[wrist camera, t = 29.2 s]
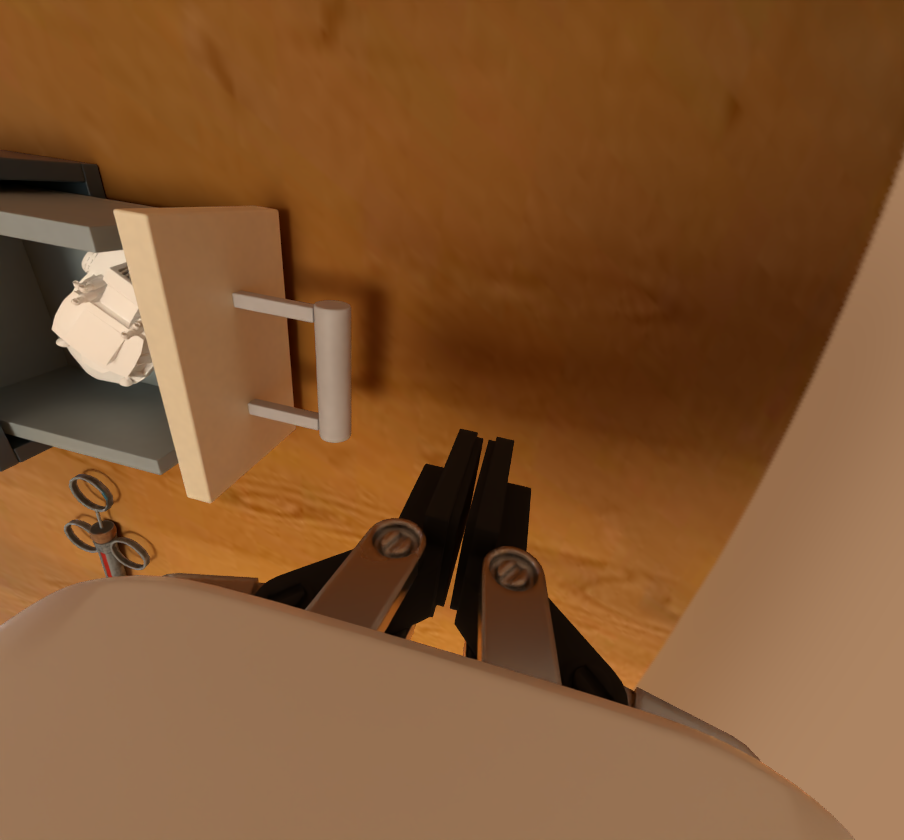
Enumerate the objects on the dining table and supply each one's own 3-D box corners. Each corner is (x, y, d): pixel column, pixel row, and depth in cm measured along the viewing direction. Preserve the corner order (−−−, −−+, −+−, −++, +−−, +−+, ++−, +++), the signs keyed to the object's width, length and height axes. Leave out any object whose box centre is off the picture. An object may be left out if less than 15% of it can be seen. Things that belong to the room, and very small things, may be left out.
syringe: (102, 597, 41) (85, 612, 39) (53, 454, 31) (28, 466, 30) (172, 624, 40) (157, 640, 38) (142, 486, 31) (121, 500, 29)
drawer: (384, 226, 17) (296, 239, 11) (376, 448, 23) (314, 532, 17) (8, 166, 20) (-220, 152, 14) (84, 378, 26) (-56, 431, 20)
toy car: (233, 295, 19) (180, 337, 16) (167, 386, 23) (113, 434, 20) (130, 211, 17) (44, 240, 14) (76, 326, 21) (0, 369, 18)
